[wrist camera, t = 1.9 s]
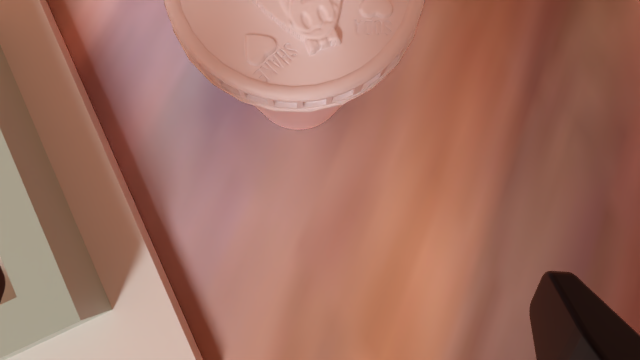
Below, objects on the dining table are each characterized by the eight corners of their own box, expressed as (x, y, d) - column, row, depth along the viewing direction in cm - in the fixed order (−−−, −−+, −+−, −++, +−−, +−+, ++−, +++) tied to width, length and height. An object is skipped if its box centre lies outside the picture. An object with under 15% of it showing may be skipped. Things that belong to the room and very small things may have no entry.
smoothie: (343, -14, 23) (401, -393, 9) (402, 129, 23) (556, -51, 9) (195, 40, 23) (29, -274, 9) (252, 187, 22) (166, 94, 8)
